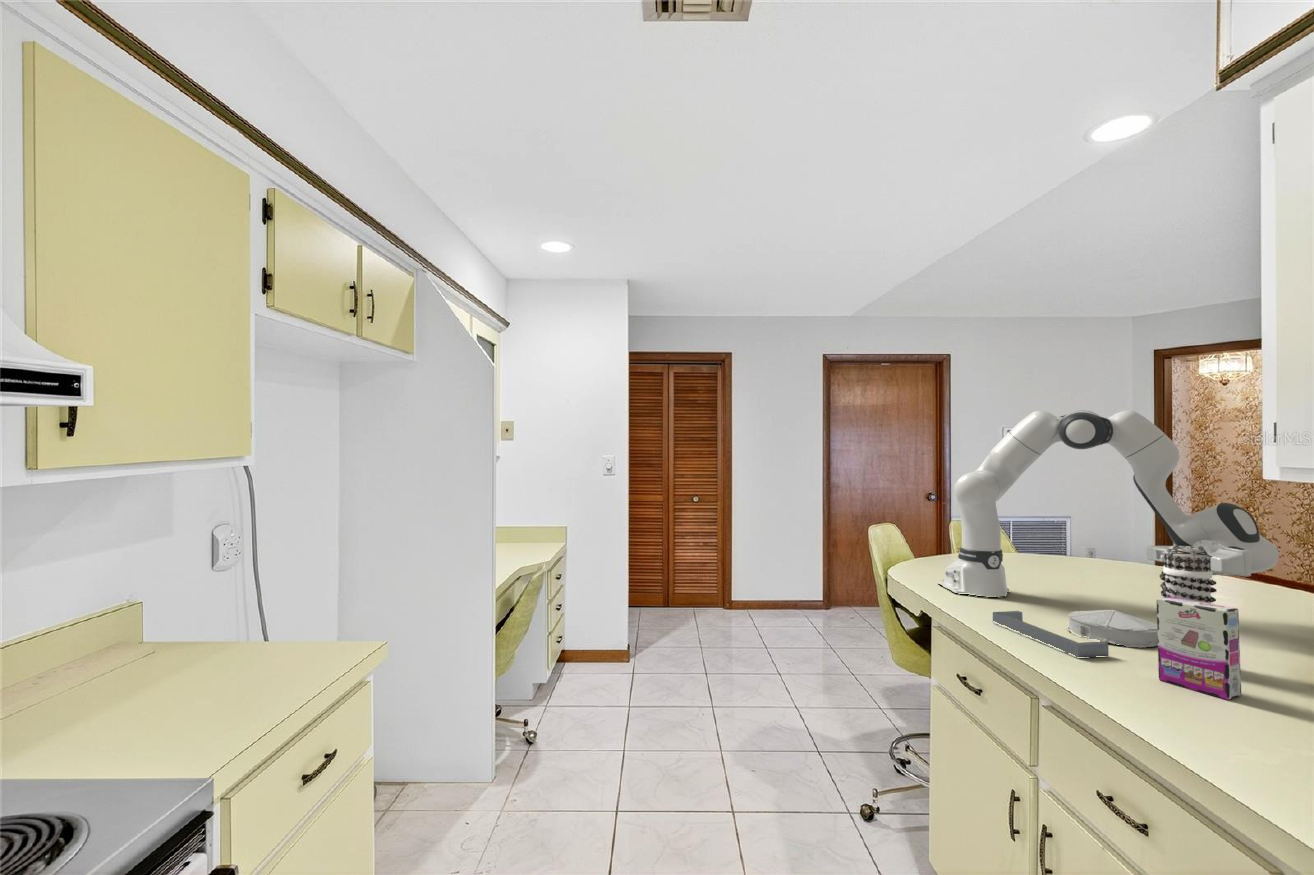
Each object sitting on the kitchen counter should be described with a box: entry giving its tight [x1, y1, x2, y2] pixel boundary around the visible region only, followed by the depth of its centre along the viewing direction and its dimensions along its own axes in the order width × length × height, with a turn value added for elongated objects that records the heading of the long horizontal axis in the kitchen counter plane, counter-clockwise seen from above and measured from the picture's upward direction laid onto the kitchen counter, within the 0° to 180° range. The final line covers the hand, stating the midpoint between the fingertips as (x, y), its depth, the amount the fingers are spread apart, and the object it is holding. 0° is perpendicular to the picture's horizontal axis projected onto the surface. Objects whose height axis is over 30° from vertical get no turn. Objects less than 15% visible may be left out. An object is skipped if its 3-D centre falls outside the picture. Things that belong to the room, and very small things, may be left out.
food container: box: [1066, 609, 1158, 649], centre depth 147 cm, size 20×20×7 cm
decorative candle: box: [1159, 545, 1217, 604], centre depth 127 cm, size 9×9×25 cm
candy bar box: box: [1156, 596, 1242, 701], centre depth 115 cm, size 11×5×16 cm, turn 25°
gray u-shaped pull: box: [992, 610, 1110, 657], centre depth 145 cm, size 27×8×3 cm, turn 8°
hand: (1165, 559), depth 150 cm, fingers closed
